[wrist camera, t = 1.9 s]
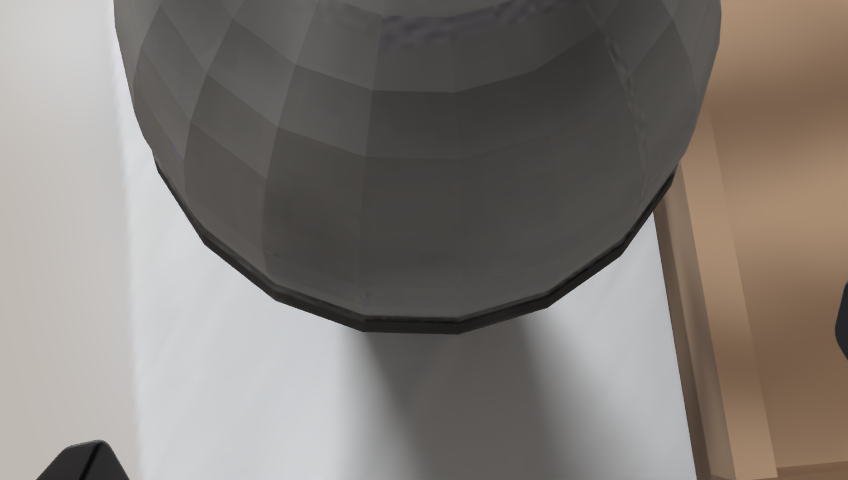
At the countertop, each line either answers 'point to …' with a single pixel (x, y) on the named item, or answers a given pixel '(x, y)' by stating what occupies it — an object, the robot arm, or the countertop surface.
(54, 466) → the robot arm
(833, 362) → the walnut tray
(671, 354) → the countertop surface
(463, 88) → the beverage cup
